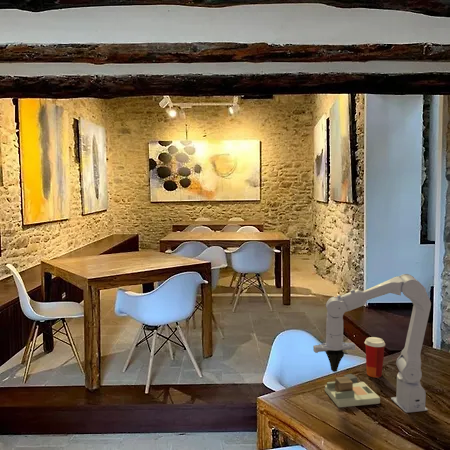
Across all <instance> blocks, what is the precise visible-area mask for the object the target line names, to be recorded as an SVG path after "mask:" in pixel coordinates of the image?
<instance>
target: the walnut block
mask: <svg viewBox="0 0 450 450" xmlns="http://www.w3.org/2000/svg"><path fill="white" fill-rule="evenodd" d="M334 382H335V390H336V391H337V392H343V391H353V382H352V381H351V380H350V379H349V378H348V377H344V376H340V377H339V376H338V377H334Z"/></svg>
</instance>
